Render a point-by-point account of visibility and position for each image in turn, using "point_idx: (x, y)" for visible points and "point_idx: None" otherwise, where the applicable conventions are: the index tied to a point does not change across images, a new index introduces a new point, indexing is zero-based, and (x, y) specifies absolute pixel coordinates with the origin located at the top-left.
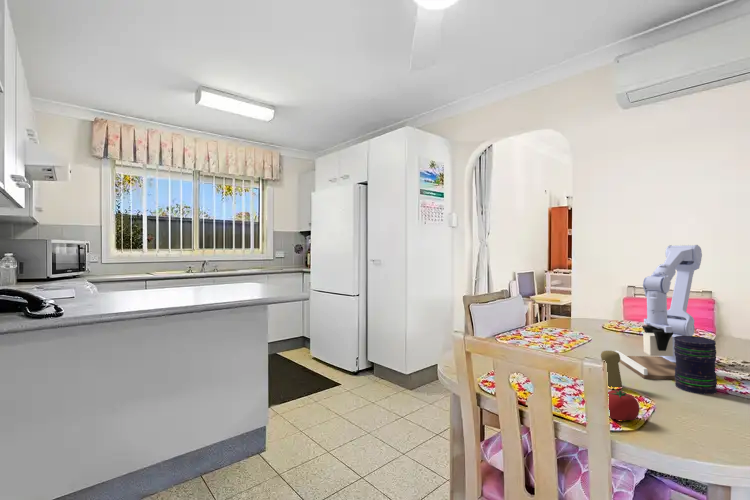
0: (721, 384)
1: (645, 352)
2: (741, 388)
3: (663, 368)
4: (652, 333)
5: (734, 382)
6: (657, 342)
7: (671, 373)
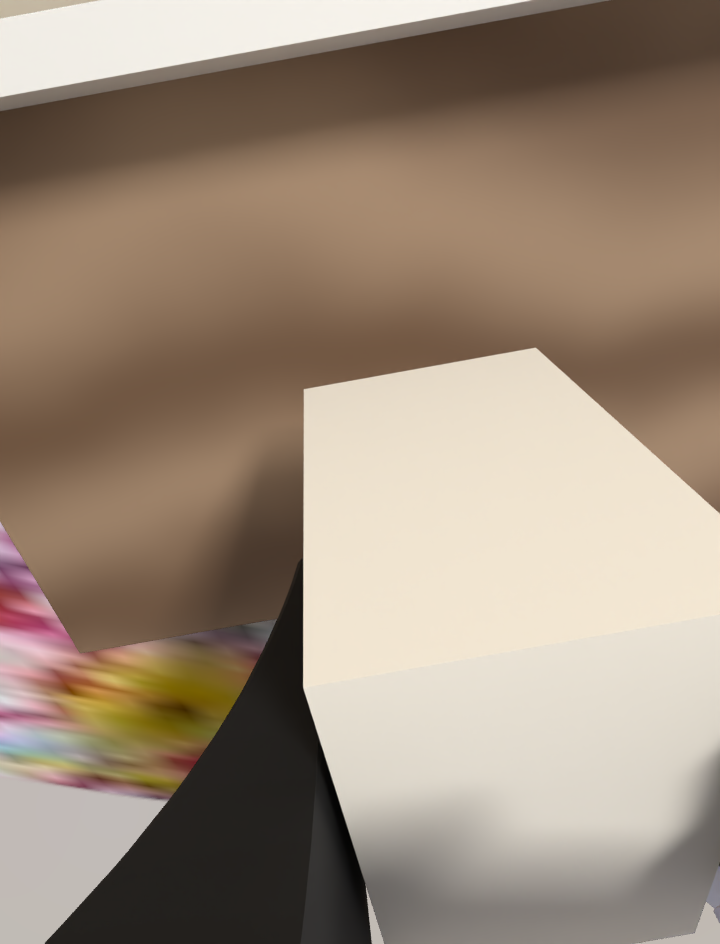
0: (58, 712)
1: (474, 361)
2: (24, 774)
3: (249, 447)
4: (664, 777)
5: (155, 773)
6: (282, 659)
7: (65, 473)
